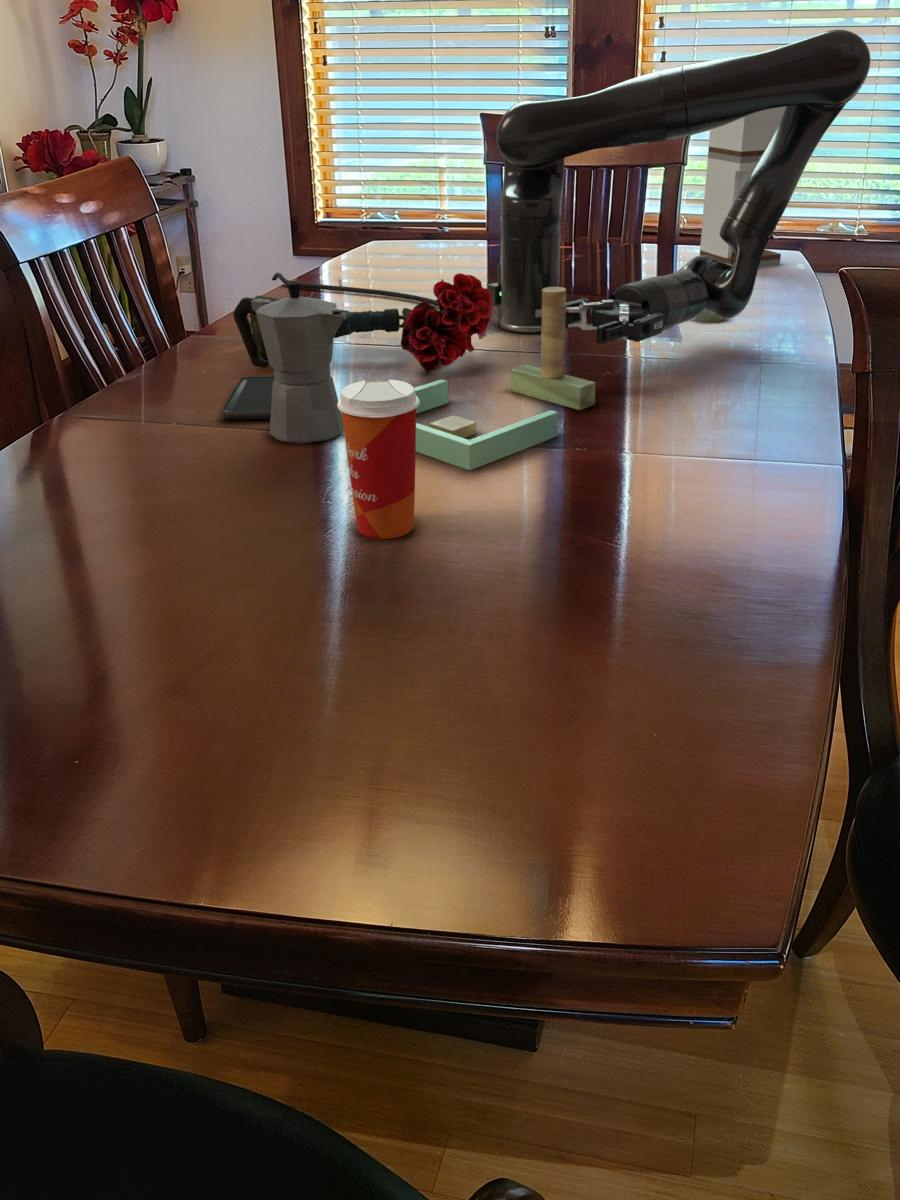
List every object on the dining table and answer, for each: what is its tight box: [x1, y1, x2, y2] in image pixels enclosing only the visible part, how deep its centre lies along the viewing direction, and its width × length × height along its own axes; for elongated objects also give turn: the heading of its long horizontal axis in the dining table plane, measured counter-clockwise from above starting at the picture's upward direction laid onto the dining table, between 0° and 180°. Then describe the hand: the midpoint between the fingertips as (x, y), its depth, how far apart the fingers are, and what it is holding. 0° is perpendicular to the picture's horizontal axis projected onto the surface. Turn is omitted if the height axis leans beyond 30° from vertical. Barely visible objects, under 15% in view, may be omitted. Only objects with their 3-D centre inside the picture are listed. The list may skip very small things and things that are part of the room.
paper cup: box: [337, 379, 420, 540], centre depth 103 cm, size 8×8×14 cm
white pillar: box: [699, 106, 786, 268], centre depth 204 cm, size 11×11×35 cm
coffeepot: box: [232, 280, 347, 444], centre depth 128 cm, size 15×9×18 cm, turn 65°
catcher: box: [413, 378, 559, 471], centre depth 129 cm, size 15×20×3 cm
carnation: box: [249, 272, 493, 373], centre depth 154 cm, size 16×18×35 cm
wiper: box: [510, 286, 597, 411], centre depth 138 cm, size 3×12×14 cm, turn 44°
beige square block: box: [429, 414, 477, 439], centre depth 129 cm, size 4×4×2 cm
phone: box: [221, 375, 275, 421], centre depth 142 cm, size 8×1×15 cm
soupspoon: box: [695, 309, 726, 323], centre depth 182 cm, size 22×3×7 cm
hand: (573, 329), depth 139 cm, fingers open, 8 cm apart
